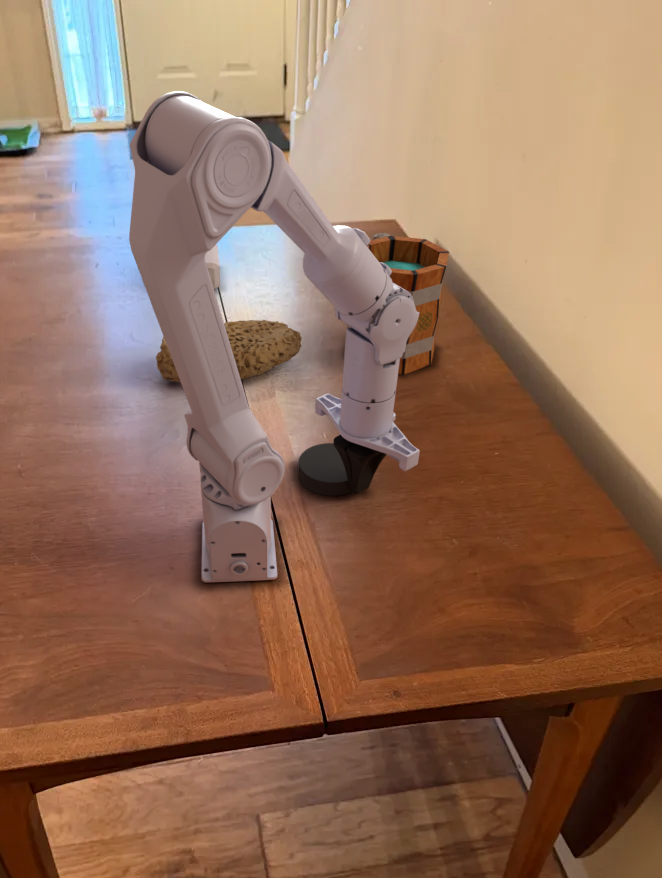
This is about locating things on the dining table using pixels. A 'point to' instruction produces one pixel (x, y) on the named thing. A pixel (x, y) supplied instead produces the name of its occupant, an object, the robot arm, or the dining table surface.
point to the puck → (323, 470)
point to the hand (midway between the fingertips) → (359, 488)
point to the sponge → (247, 348)
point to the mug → (415, 289)
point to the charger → (213, 266)
